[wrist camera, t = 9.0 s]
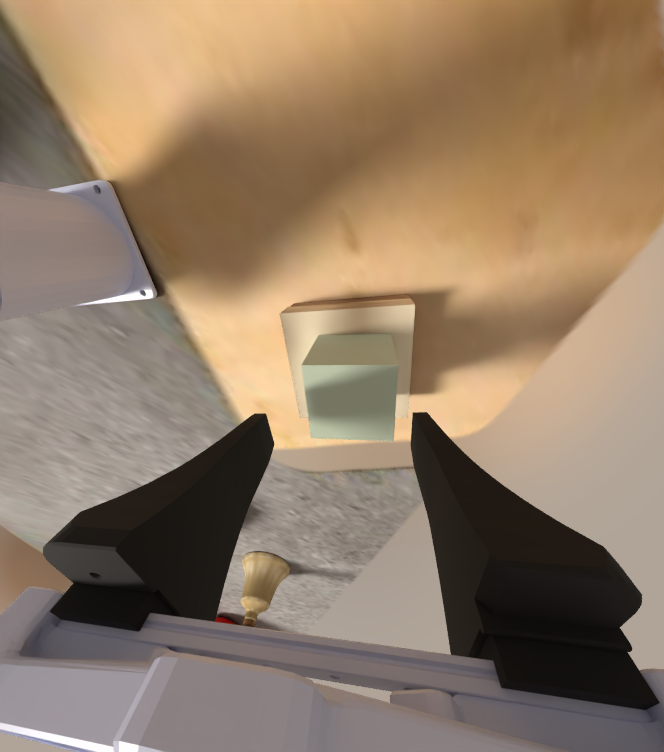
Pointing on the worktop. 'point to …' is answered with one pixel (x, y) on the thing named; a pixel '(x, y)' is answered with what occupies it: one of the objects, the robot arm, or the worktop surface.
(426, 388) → the worktop surface
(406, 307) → the slab top
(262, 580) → the hand bell
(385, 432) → the cube
